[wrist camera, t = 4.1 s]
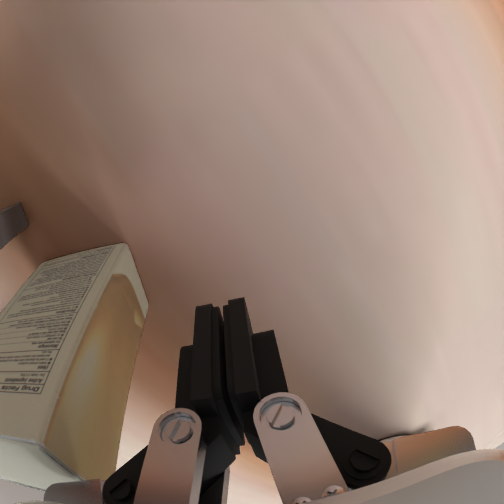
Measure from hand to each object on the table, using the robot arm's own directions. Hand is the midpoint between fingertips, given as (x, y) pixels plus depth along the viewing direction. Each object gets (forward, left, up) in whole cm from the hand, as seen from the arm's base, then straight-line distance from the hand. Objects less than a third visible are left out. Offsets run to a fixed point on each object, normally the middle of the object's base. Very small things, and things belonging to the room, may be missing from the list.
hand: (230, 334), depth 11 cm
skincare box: (+8, 0, -7) cm, 10 cm away
